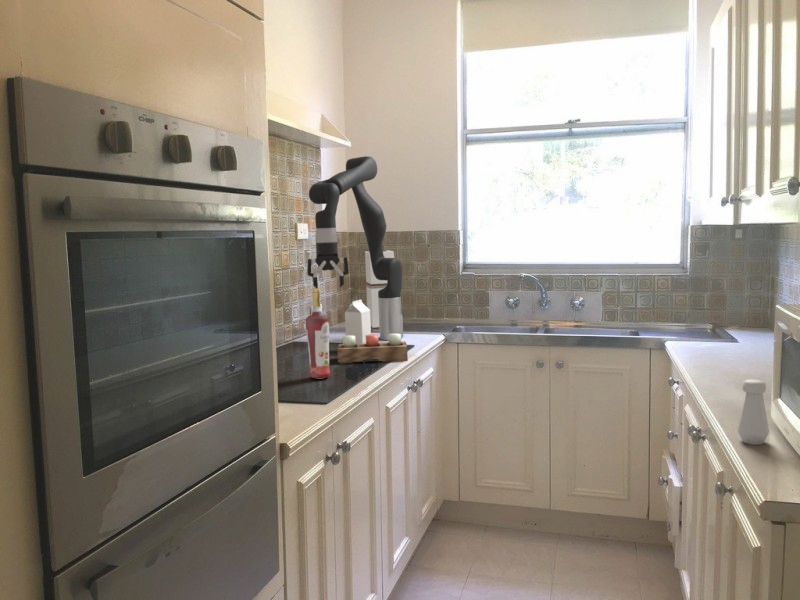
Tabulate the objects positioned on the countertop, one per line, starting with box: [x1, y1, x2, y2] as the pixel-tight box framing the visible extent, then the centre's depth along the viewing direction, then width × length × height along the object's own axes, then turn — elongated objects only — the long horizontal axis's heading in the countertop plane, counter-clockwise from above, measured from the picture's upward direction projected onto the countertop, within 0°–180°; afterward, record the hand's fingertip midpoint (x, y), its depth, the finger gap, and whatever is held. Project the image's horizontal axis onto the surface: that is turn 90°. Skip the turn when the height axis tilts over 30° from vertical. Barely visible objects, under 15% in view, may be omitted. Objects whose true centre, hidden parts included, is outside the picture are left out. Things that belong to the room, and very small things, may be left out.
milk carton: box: [344, 299, 372, 343], centre depth 257 cm, size 7×7×19 cm
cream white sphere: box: [388, 333, 402, 345], centre depth 241 cm, size 4×4×4 cm
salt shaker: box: [737, 378, 770, 446], centre depth 141 cm, size 6×6×13 cm
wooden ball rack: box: [337, 340, 409, 363], centre depth 241 cm, size 24×10×5 cm, turn 93°
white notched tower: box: [364, 249, 395, 333], centre depth 305 cm, size 11×11×35 cm
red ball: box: [366, 333, 379, 346], centre depth 240 cm, size 4×4×4 cm
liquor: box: [305, 288, 332, 379], centre depth 213 cm, size 7×7×28 cm
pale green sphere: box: [342, 335, 356, 347], centre depth 240 cm, size 4×4×4 cm
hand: (328, 287), depth 240 cm, fingers open, 8 cm apart
